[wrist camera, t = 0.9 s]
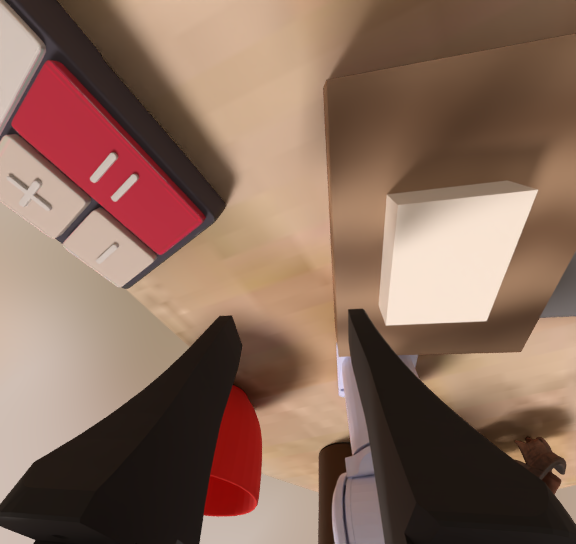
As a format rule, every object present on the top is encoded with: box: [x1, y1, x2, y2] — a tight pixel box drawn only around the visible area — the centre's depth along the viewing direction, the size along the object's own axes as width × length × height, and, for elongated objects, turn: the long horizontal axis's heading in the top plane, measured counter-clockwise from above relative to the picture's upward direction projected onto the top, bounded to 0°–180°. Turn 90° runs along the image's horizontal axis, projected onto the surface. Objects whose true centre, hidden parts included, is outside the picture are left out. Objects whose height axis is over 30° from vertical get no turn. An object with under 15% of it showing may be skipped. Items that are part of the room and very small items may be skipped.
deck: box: [323, 33, 576, 357], centre depth 16 cm, size 19×14×4 cm
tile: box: [379, 180, 538, 326], centre depth 14 cm, size 8×6×2 cm
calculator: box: [0, 0, 225, 289], centre depth 16 cm, size 11×4×15 cm
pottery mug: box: [515, 437, 566, 494], centre depth 31 cm, size 12×10×8 cm
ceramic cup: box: [204, 385, 262, 516], centre depth 29 cm, size 13×17×10 cm
